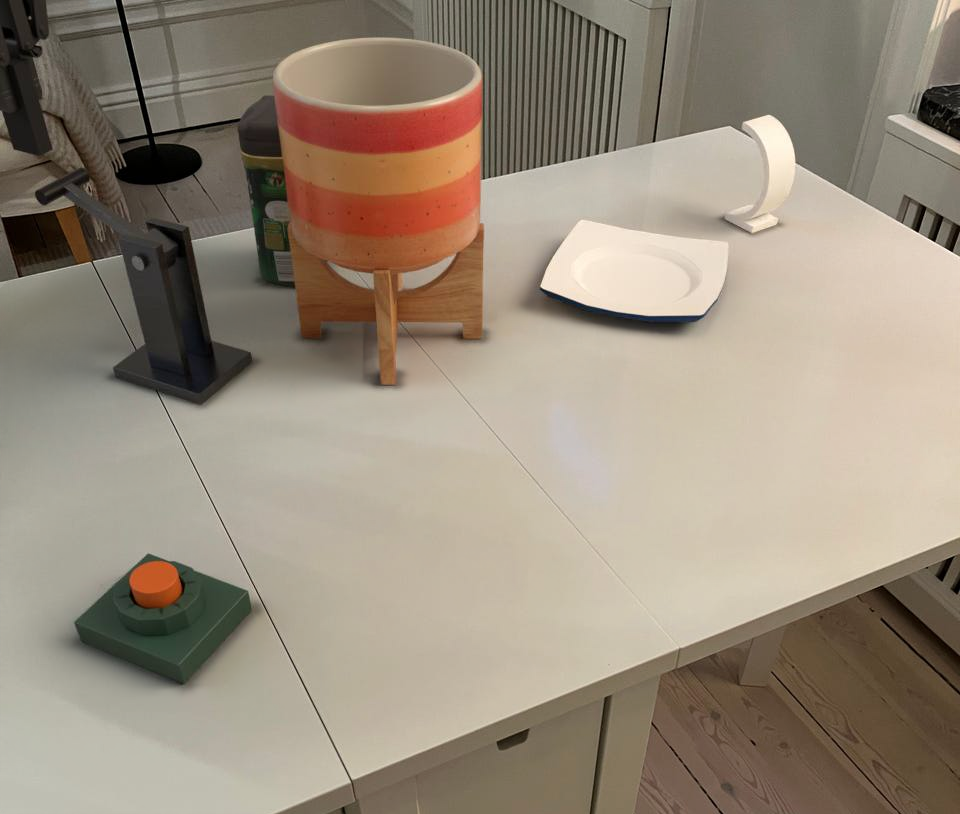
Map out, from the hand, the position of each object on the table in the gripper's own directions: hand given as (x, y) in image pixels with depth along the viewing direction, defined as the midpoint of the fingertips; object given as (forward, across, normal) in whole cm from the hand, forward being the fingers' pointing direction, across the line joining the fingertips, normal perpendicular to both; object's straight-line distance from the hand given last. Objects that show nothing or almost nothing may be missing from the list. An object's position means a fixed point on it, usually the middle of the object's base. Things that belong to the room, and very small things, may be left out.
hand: (33, 149), depth 81 cm
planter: (+26, +27, -16) cm, 41 cm away
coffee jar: (+26, +35, +2) cm, 44 cm away
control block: (+26, -20, -22) cm, 39 cm away
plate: (+26, +50, -36) cm, 67 cm away
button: (+23, -20, -22) cm, 37 cm away
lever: (+12, +11, +5) cm, 18 cm away
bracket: (+26, +11, 0) cm, 29 cm away
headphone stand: (+26, +74, -44) cm, 89 cm away
